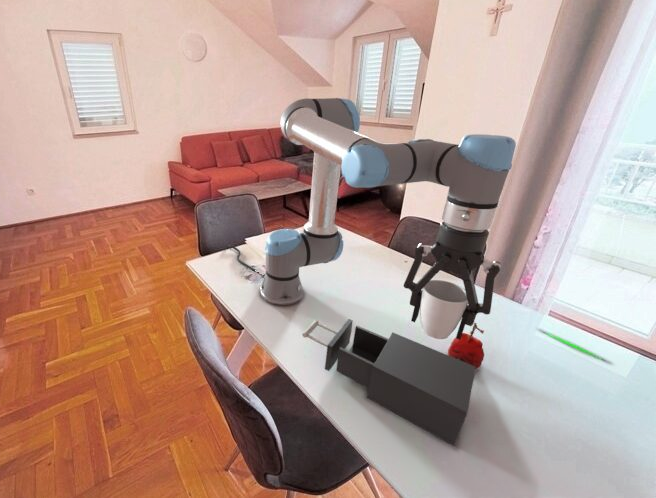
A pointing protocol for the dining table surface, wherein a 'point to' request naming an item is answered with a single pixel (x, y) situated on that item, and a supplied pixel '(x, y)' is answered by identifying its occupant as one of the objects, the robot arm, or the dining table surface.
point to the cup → (441, 308)
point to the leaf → (574, 346)
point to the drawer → (351, 351)
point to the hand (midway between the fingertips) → (436, 326)
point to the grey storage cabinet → (422, 386)
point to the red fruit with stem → (468, 349)
